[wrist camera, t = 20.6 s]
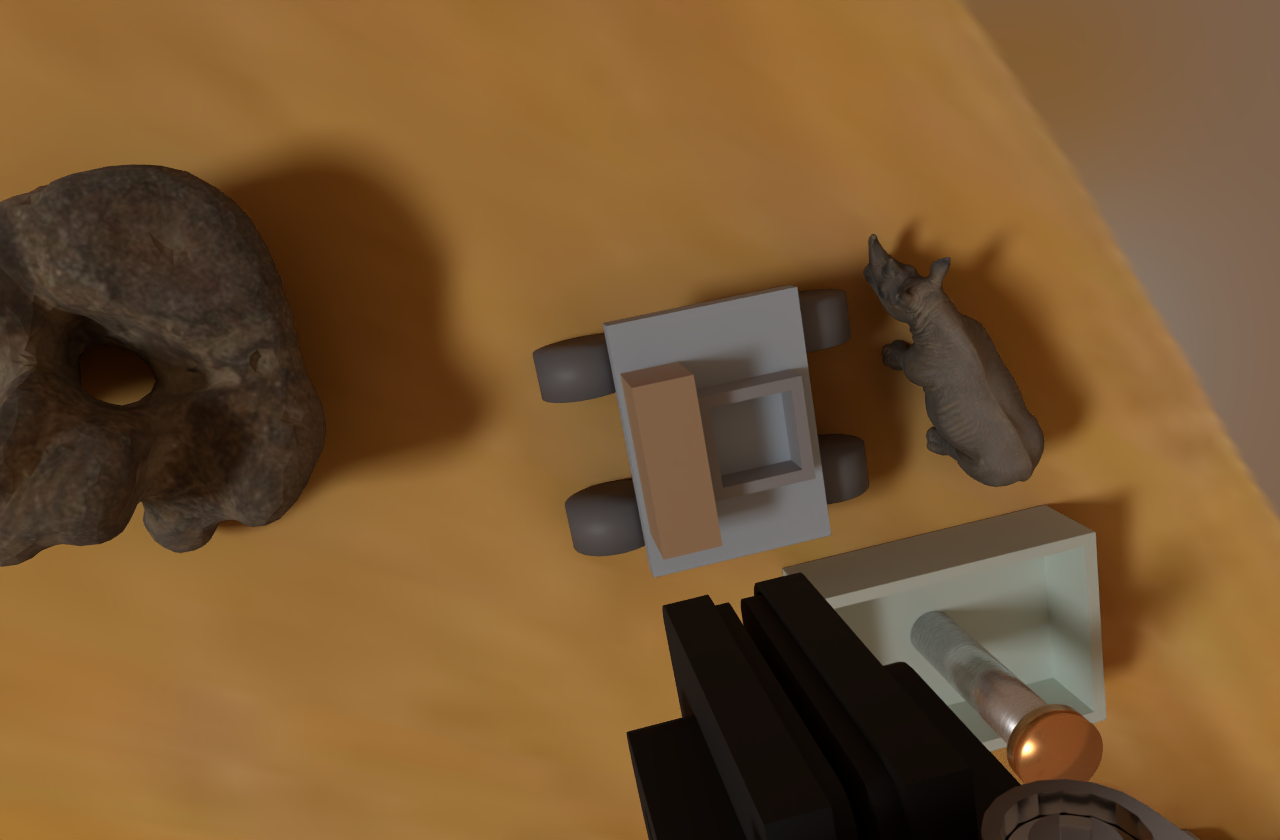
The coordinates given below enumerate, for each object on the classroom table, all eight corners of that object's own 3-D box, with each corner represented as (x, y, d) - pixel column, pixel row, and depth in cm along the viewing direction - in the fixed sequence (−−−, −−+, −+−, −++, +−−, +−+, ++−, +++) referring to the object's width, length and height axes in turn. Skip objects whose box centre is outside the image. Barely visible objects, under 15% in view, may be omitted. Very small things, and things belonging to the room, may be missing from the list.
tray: (1057, 679, 50) (1106, 719, 46) (809, 745, 49) (837, 793, 45) (1045, 504, 48) (1095, 531, 44) (782, 568, 46) (810, 602, 42)
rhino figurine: (887, 204, 43) (950, 204, 37) (1012, 440, 47) (1086, 473, 41) (813, 253, 43) (865, 261, 37) (944, 485, 47) (1009, 525, 41)
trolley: (851, 486, 46) (926, 543, 38) (573, 551, 44) (593, 625, 36) (823, 264, 43) (898, 278, 35) (525, 325, 41) (536, 353, 34)
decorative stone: (419, 288, 35) (209, 667, 31) (378, 338, 45) (215, 629, 41) (-27, 32, 30) (-345, 445, 26) (39, 152, 40) (-183, 463, 36)
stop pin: (968, 654, 48) (1105, 783, 38) (903, 672, 48) (1024, 807, 37) (961, 592, 47) (1099, 706, 37) (895, 610, 47) (1016, 731, 37)
